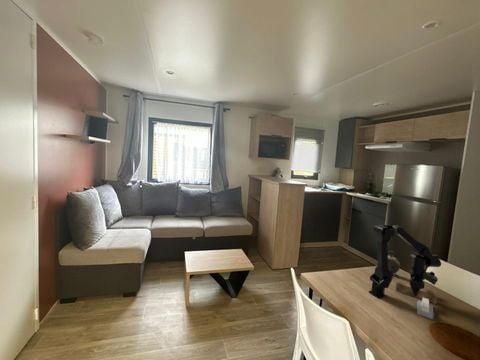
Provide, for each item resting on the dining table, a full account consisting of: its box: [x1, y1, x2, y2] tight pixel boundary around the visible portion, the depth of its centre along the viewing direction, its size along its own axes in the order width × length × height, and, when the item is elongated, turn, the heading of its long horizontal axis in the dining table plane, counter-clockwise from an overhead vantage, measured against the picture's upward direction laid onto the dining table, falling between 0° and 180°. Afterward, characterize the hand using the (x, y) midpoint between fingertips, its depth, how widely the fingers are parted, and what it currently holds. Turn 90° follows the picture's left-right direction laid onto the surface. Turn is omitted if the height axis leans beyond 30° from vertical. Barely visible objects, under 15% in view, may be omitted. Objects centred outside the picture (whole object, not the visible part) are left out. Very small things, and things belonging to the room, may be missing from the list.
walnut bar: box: [395, 280, 438, 305], centre depth 126 cm, size 18×4×5 cm, turn 51°
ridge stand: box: [416, 297, 435, 320], centre depth 112 cm, size 6×10×5 cm, turn 141°
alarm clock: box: [388, 250, 401, 276], centre depth 151 cm, size 11×5×16 cm, turn 46°
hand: (415, 292), depth 126 cm, fingers open, 9 cm apart
